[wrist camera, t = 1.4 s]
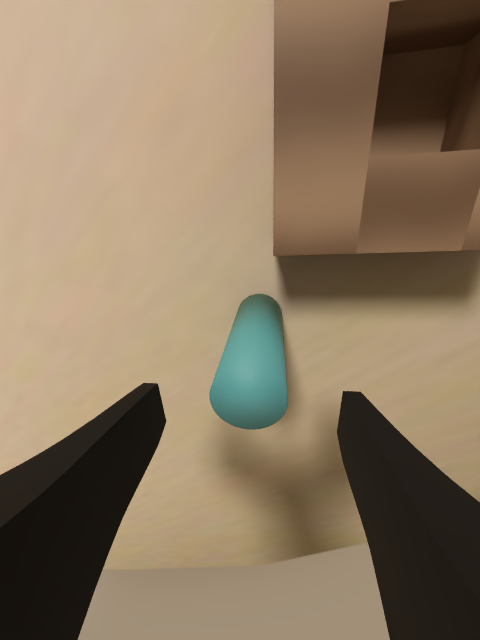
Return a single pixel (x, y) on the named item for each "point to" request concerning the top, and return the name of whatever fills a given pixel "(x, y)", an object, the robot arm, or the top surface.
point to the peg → (252, 367)
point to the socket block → (376, 126)
